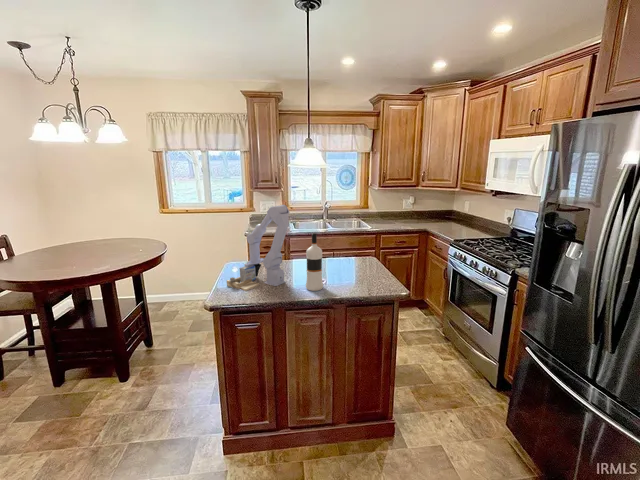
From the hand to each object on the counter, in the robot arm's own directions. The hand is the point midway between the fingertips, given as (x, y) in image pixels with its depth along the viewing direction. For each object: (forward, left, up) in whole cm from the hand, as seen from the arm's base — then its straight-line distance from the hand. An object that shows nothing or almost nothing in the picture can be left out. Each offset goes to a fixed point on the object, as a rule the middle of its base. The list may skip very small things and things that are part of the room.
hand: (255, 276), depth 187 cm
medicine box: (0, +6, -1) cm, 6 cm away
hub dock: (-3, +13, -1) cm, 13 cm away
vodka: (-38, -6, -1) cm, 38 cm away
